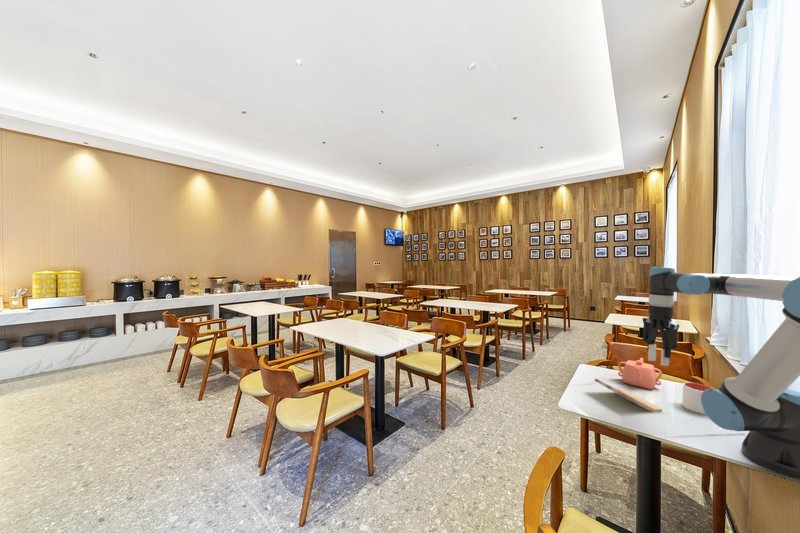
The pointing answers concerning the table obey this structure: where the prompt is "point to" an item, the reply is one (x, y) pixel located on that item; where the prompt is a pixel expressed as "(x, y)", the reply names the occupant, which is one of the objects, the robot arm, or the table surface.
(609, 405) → the pad
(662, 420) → the table surface
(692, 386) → the cup
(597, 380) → the board
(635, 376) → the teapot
